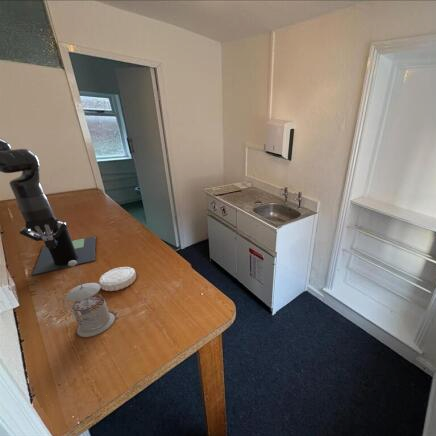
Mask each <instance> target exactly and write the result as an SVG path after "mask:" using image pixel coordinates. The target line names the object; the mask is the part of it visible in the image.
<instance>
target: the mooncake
mask: <svg viewBox="0 0 436 436" xmlns="http://www.w3.org/2000/svg"><path fill="white" fill-rule="evenodd" d="M136 279H137V273H136V269H134V267H131V266H120V267H115V268H112V269H110V270H108V271H107V272H104V273H103V274H102V275H101V276H100V278H99V280H98V284H99V285H100V289H101V290H103V291H105V292H113V291H115V292H116V291H119V290H123V289H124V288H127V287H129V286H130V285H132V284H133V283H134V282H135V281H136Z"/></svg>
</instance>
